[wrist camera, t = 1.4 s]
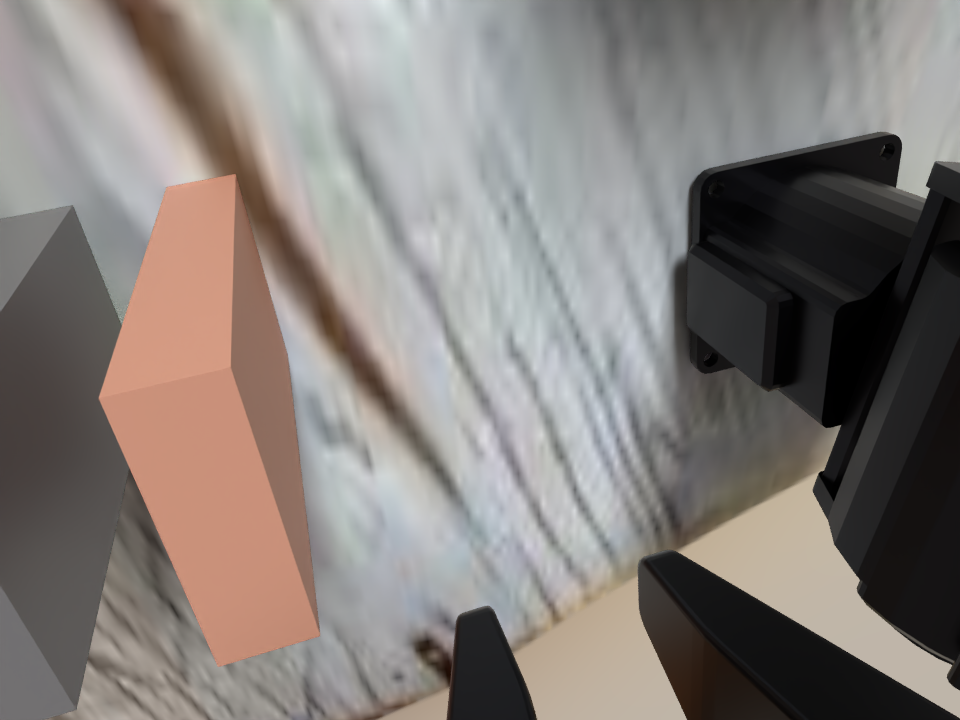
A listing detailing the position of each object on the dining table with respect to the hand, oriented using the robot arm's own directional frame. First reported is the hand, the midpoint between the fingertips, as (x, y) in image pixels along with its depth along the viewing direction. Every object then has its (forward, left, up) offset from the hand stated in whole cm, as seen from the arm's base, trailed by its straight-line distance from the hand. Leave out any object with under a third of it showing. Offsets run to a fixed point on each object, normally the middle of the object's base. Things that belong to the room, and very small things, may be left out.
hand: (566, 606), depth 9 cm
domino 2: (+4, 0, -13) cm, 14 cm away
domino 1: (+8, 0, -13) cm, 15 cm away
